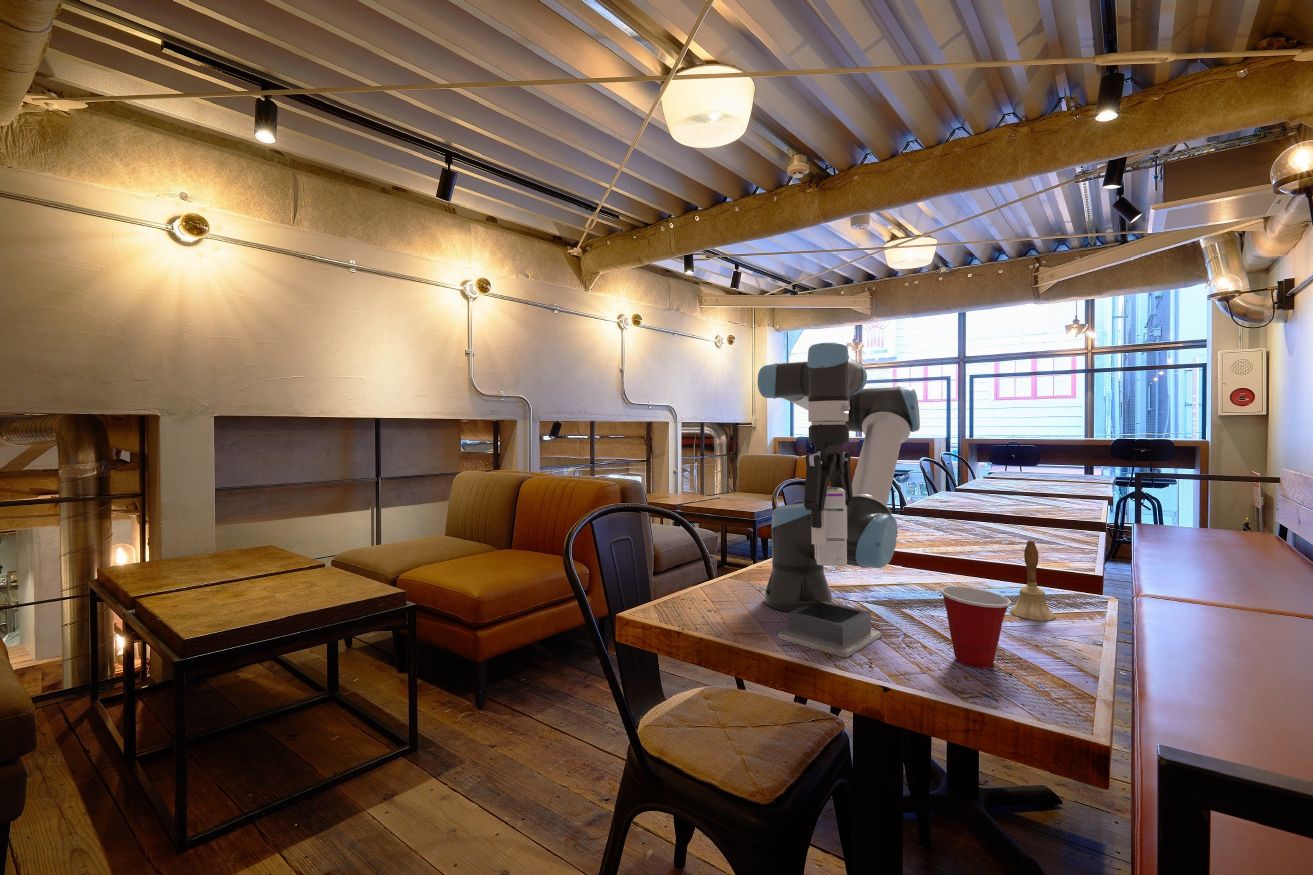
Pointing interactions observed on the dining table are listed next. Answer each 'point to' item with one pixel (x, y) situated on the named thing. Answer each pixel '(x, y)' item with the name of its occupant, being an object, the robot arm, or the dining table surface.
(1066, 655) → the dining table surface
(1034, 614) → the hand bell
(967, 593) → the plastic cup
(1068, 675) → the dining table surface
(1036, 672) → the dining table surface
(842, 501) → the syrup box
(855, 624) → the grey shallow open box
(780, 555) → the robot arm
